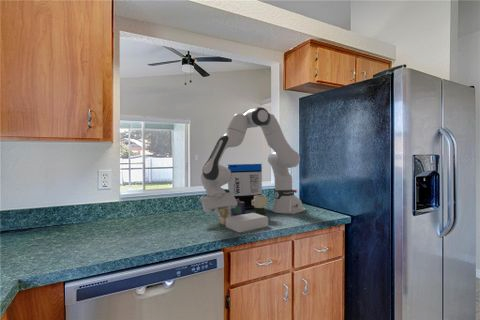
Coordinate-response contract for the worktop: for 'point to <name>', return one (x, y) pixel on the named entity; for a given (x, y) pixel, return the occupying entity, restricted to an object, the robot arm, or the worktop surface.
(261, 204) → the character mug
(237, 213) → the flask
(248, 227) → the grey box
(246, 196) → the protein powder
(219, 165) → the robot arm
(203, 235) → the worktop surface
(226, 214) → the maple block
